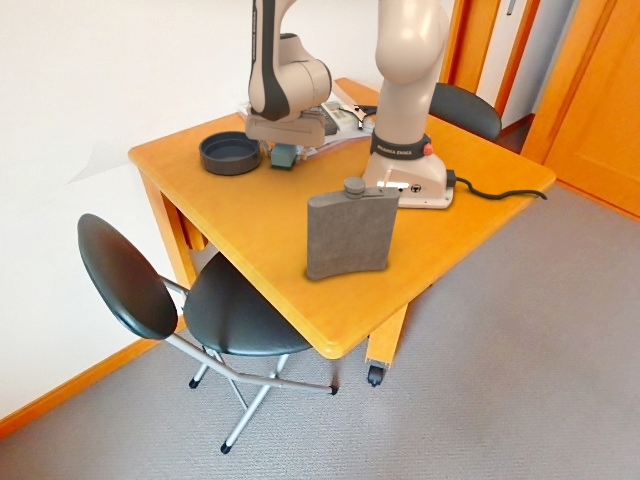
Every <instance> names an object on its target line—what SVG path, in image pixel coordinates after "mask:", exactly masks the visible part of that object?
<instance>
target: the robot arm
mask: <svg viewBox="0 0 640 480" xmlns="http://www.w3.org/2000/svg"><path fill="white" fill-rule="evenodd" d="M297 1H298V0H252V10H251V13H252V14H251V60H250V61H251V62H250V63H251V65H250V73H249V74H250V75H249V80H248V85H247V86H248V88H247V89H248V90H247V94H248V100H249V103H248V104H247V106H246V109H245V110H246V116H245V120H244V132H245V133H246V136H247V137H248V138H249V139H253V140H259V141H260V146H261V148H263V150H264V155H265V156H270V157H271V152H272V150H273V147H272V146H269V144H268V142H269V143H275V144H276V143H283V144H291V145H297V146H298V147H303V150H301V151H300V153H299V160H300V161H307V158H308V153H309V151H310V150H311V148H314V149H320V148H321V147H322V146H324V144H325V140H326V131H325V127H326V126H327V125H326V124H327V117H326V115H325V114H324V112H321V110H318V109H310V108H313V107H317V106H319V105H321V104H324V103H326V102H327V101H328V100H329V98H330V96H331V94H332V90H333V89H332V88H333V78H332V74H331V73H332V72H331V70H330V69H329V67H328V66H327V65H326V64H325V63H324V62H323V61H322V60H320V59H318V58H315V57H314V56H313V55H312V54H310V53H309V51H308V50H307V49H306V48H305V47H304V45H303V43H302V40H301V38H300V36H299V35H298V34H296V33H293V32H284V33H281V30H282V29H281V28H282V22H283V19H284V17H285V15H286V13H287V12H288V11H289V9H291V8H290V7H292V6H293V5H294V4H295V3H296V2H297ZM377 3H378V4H377V39H376V46H375V52H374V59H375V65H376V68H377V70H378V72H379V74H380V75H381V76H382V77H383V81H382V84H381V88H380V90H379V93H378V98H377V104H376V106H377V112H375V122H374V123H375V124H374V127H373V128H372V131H371V134H370V139H369V140H370V141H369V158H368V161H367V164H366V168H365V169H364V172H363V175H362V176H361V178H362V179H363V180H364V181H365V182H366V186H365V188H371V187H392V188H396V189H397V190H399V191H400V199H399V204H398V208H408V209H410V208H411V209H442V210H443V209H447V208H448V207H450V205H451V203H452V202H453V198H454V188H455V187H456V184H457V182H459V183H462V184H466V185H467V188H468V190H469V191H470V192H471V193H473V194H475V195H477V196H478V197H482V198H486V199H495V200H497V199H498V200H499V199H503V198H505V197H507V196H510V195H524V194H530V195H536V196H538V197H540V198H541V199H542V200H543V201H544V200H545V201H547V200H548V197H547V196H546V194H544V193H543V192H542V191H539V190H535V189H514V190H507V191H505V192H503V193H500V194H490V193H484V192H482V191H479V190H477V189H475V188H474V187H473V184H472V182H470V181H469V180H467V179H466V178H463V177H459V176H456V172H455V170H454V169H449V168H446V165H445V163H444V161H443V160H442V159H441V158H440V157H439V156H438V155H436V154H435V153H434V146H433V145H432V138H431V135H430V132H427V134H426V133H425V130H426V125H427V122H428V117H429V112H430V107H431V103H432V100H433V96H434V93H435V89H436V86H437V82H438V79H439V76H440V75H439V74H440V71H441V68H442V64H443V60H444V55H445V53H446V48H447V45H448V40H449V36H450V29H451V28H450V27H451V26H450V19H449V16H448V13H447V12H446V10H445V8H443V7H442V6H441V5H440V4H441V0H378V2H377Z"/></svg>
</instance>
